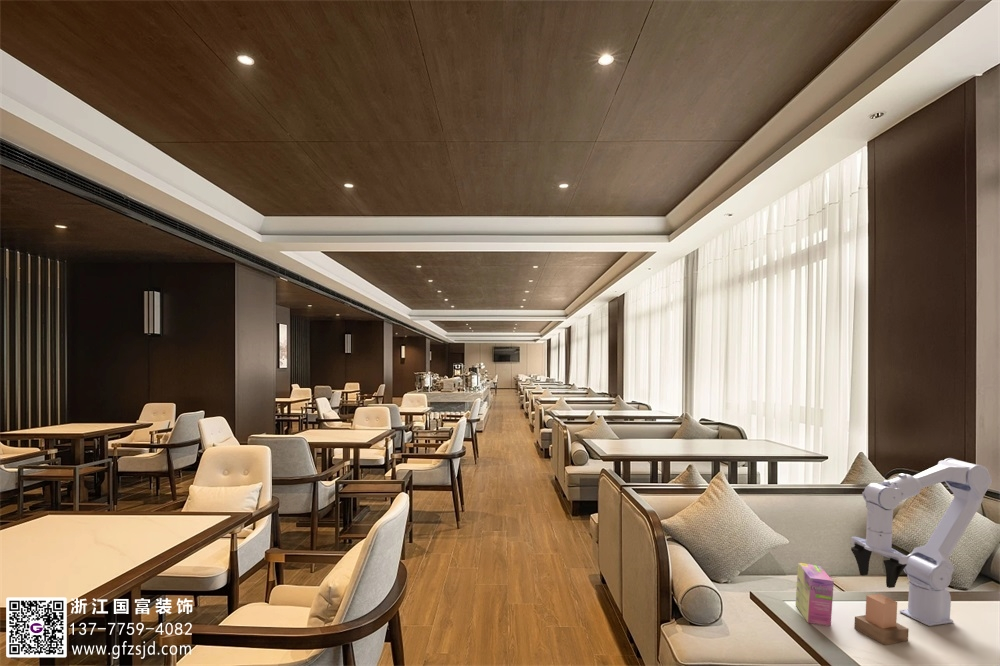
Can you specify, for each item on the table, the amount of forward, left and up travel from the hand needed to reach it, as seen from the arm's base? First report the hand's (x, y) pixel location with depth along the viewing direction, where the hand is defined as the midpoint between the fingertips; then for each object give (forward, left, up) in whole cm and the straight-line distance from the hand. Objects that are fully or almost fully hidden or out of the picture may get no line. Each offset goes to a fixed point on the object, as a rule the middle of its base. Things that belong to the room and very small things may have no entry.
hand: (876, 580), depth 152 cm
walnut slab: (+7, +7, -10) cm, 14 cm away
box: (+16, -5, -10) cm, 20 cm away
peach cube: (+7, +7, -7) cm, 12 cm away
